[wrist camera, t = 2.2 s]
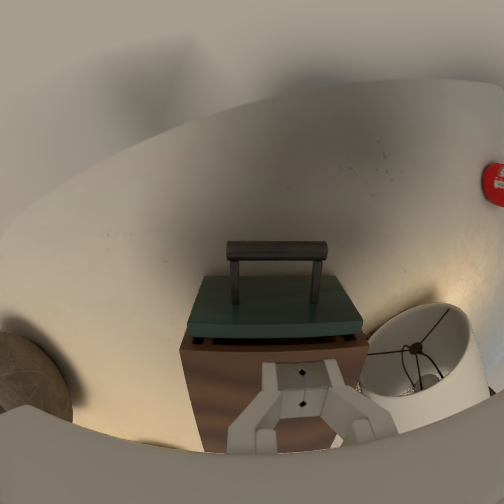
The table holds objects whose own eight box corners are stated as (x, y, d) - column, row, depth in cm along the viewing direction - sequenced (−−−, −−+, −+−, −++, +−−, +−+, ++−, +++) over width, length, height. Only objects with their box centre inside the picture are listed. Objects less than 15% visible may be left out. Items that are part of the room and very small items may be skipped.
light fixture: (383, 467, 34) (313, 367, 29) (451, 404, 36) (418, 274, 31) (429, 515, 17) (398, 455, 12) (505, 435, 20) (522, 292, 15)
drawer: (201, 224, 23) (178, 255, 16) (340, 225, 23) (376, 255, 16) (214, 383, 30) (207, 434, 23) (316, 381, 30) (328, 430, 23)
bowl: (110, 408, 34) (81, 478, 20) (44, 402, 36) (16, 450, 22) (38, 302, 28) (-27, 366, 13) (-12, 319, 30) (-57, 362, 15)
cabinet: (200, 287, 26) (178, 349, 17) (336, 287, 26) (370, 345, 17) (212, 391, 32) (204, 452, 23) (316, 390, 32) (330, 448, 23)
